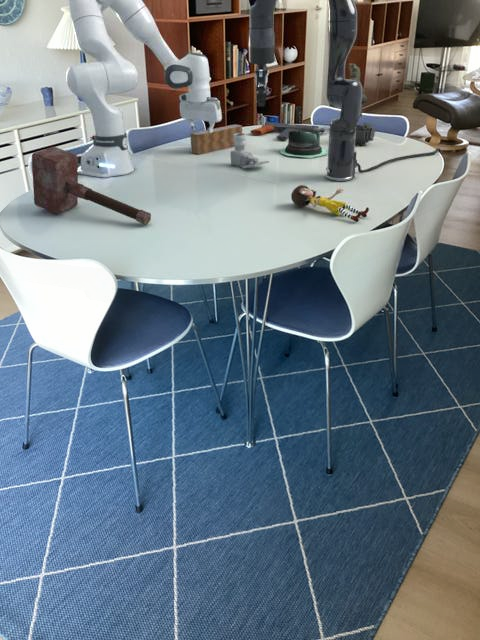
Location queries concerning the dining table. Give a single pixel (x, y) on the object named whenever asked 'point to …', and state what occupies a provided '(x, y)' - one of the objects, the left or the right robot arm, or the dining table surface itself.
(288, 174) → the dining table surface
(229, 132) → the bar
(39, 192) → the sledgehammer
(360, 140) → the toy
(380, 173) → the dining table surface
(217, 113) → the left robot arm
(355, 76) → the statue
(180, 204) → the dining table surface
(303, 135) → the dark green hat
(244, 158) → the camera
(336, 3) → the right robot arm
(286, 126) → the submachine gun
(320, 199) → the figurine
